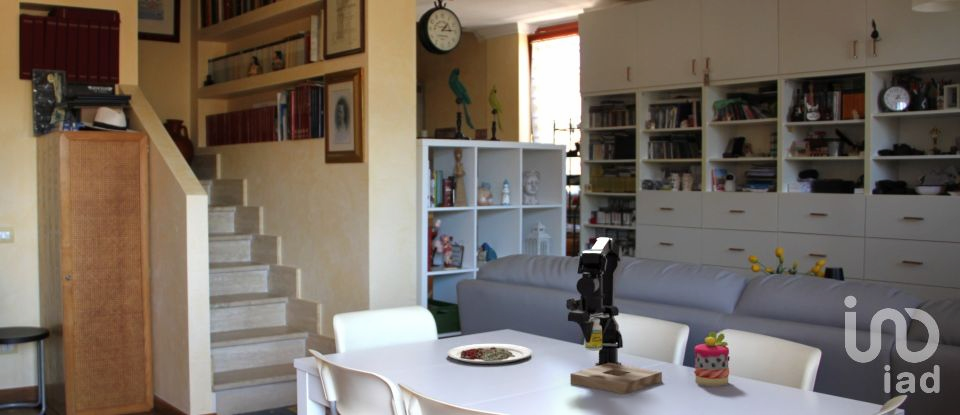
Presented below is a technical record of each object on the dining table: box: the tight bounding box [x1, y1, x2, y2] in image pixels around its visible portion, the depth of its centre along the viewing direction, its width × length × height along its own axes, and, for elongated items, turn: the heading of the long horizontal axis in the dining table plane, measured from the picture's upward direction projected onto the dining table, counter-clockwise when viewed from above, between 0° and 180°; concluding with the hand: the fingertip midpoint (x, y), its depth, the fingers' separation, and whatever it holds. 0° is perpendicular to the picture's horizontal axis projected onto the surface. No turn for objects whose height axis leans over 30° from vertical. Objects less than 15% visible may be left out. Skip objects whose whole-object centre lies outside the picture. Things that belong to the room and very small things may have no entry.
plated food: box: [447, 343, 533, 365], centre depth 310 cm, size 30×30×3 cm
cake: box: [693, 331, 730, 387], centre depth 267 cm, size 10×11×15 cm
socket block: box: [570, 363, 663, 395], centre depth 269 cm, size 20×20×3 cm
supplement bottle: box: [584, 317, 602, 352], centre depth 271 cm, size 5×5×10 cm
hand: (593, 341), depth 271 cm, fingers closed on supplement bottle, 5 cm apart
